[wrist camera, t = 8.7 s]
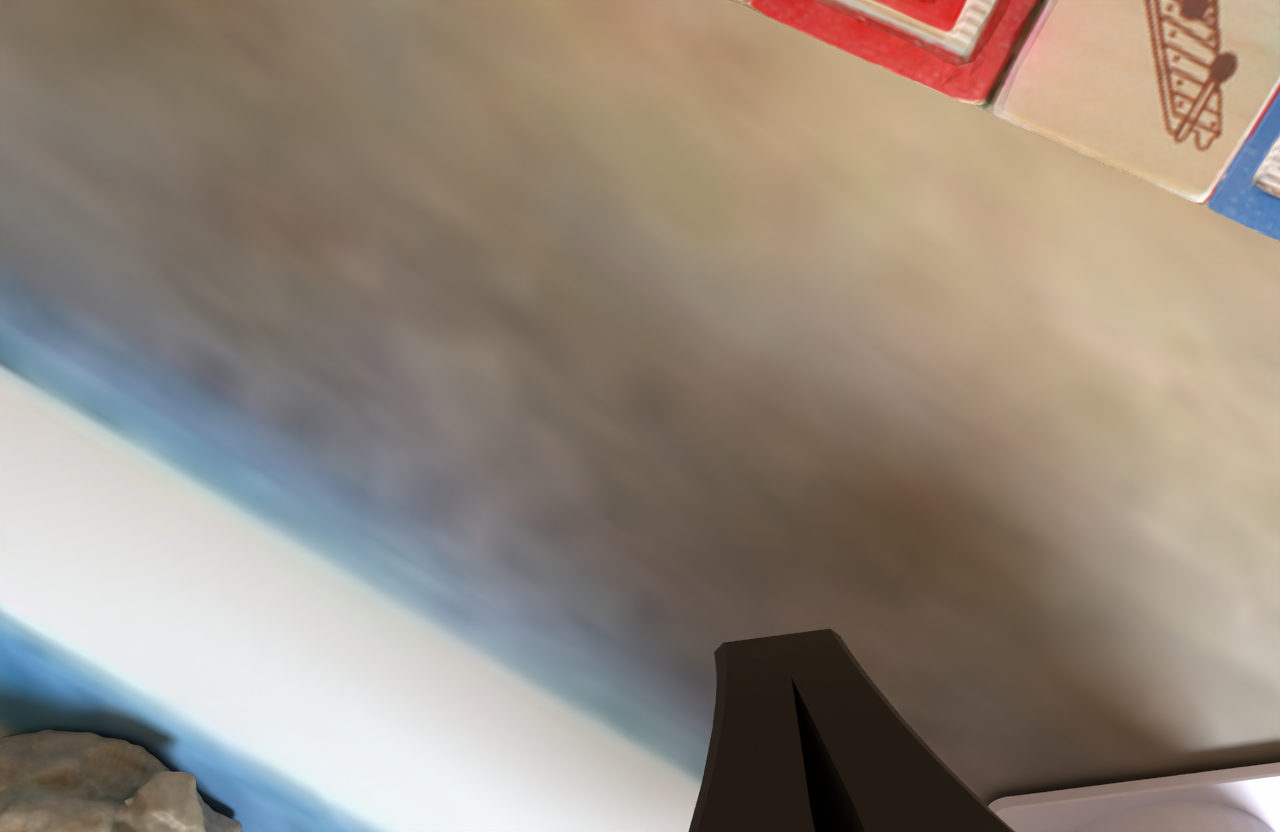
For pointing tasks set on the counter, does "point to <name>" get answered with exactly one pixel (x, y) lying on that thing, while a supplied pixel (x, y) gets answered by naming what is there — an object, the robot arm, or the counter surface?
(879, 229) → the counter surface
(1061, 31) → the stack of blocks
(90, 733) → the long grey stone
